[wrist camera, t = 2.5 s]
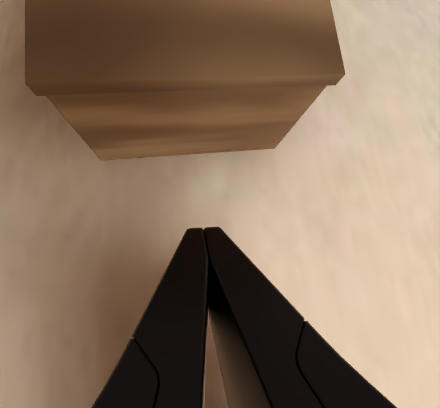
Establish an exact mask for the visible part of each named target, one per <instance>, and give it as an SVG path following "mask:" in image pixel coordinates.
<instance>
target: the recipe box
mask: <svg viewBox="0 0 440 408" xmlns="http://www.w3.org/2000/svg"><path fill="white" fill-rule="evenodd" d="M25 75H26V85H27V86H28V87H29V88H30V89H31V90H32V91H33V92H34V94H35V95H36V96H47V97H48V98H49V100H50V101H51V102H52V103H53V104H54V106H55V107H56V108H57V109H58V110H59V111H60V113H61V114H62V115H63V116H64V117H65V118H66V120H67V121H68V122H69V123H70V124H71V126H72V127H73V128H74V129H75V130H76V131H77V133H78V134H79V135H80V136H81V137H82V139H83V140H84V141H85V142H86V143H87V144H88V146H89V147H90V148H91V149H92V150H93V151H94V153H95V154H96V155H97V156H98V157H99V159H100V160H111V159H125V158H140V157H155V156H170V155H185V154H200V153H215V152H230V151H245V150H260V149H274V148H275V147H276V146H277V145H278V144H279V143H280V141H281V140H282V139H283V138H284V136H285V135H286V134H287V133H288V132H289V130H290V129H291V128H292V127H293V126H294V124H295V123H296V122H297V121H298V120H299V118H300V117H301V116H302V115H303V114H304V112H305V111H306V110H307V109H308V108H309V106H310V105H311V104H312V103H313V102H314V100H315V99H316V98H317V97H318V96H319V94H320V93H321V92H322V91H323V90H324V88H325V87H326V86H327V85H336V84H337V83H338V82H339V81H340V79H341V78H342V77H343V76H344V75H345V70H344V65H343V61H342V56H341V51H340V46H339V41H338V37H337V32H336V27H335V22H334V17H333V13H332V8H331V3H330V0H25Z"/></svg>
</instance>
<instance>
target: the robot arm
mask: <svg viewBox="0 0 440 408" xmlns="http://www.w3.org/2000/svg"><path fill="white" fill-rule="evenodd" d="M208 312H209V318H210V323H211V327H212V332H213V337H214V341H215V346H216V351H217V355H218V360H219V365H220V369H221V374H222V379H223V383H224V388H225V393H226V397H227V402H228V407H229V408H397V407H396V406H395V405H393V404H392V403H391V402H390V401H389V400H388V399H387V398H386V397H385V396H383V395H382V394H381V393H380V392H379V391H378V390H377V389H376V388H375V387H373V386H372V385H371V384H370V383H369V382H368V381H367V380H366V379H365V378H364V377H362V376H361V375H360V374H359V373H358V372H357V371H356V370H355V369H354V368H353V367H352V366H351V365H350V364H349V363H348V362H346V361H345V360H344V359H343V358H342V357H341V356H340V355H339V354H338V353H337V352H336V351H335V350H334V349H333V348H332V347H331V346H330V345H329V344H328V343H327V342H326V341H325V340H324V339H323V337H322V336H321V335H320V334H319V333H318V332H317V331H316V330H315V329H314V328H313V327H312V326H311V325H310V324H309V323H308V321H304V317H303V316H302V315H301V314H300V313H299V312H298V311H297V310H296V309H295V308H294V307H293V306H292V304H291V303H290V302H289V301H288V300H287V299H286V298H285V297H284V296H283V295H282V294H281V293H280V292H279V290H278V289H277V288H276V287H275V286H274V285H273V284H272V283H271V282H270V281H269V280H268V279H267V278H266V276H265V275H264V274H263V273H262V272H261V271H260V270H259V269H258V268H257V267H256V266H255V265H254V264H253V263H252V261H251V260H250V259H249V258H248V257H247V256H246V255H245V254H244V253H243V252H242V251H241V250H240V249H239V247H238V246H237V245H236V244H235V243H234V242H233V241H232V240H231V239H230V238H229V237H228V236H227V235H226V233H225V232H224V231H223V230H222V229H221V228H220V227H206V228H204V230H203V229H202V228H189V229H187V230H186V232H185V234H184V236H183V238H182V240H181V242H180V244H179V246H178V248H177V250H176V252H175V253H174V255H173V257H172V259H171V261H170V263H169V265H168V267H167V269H166V271H165V273H164V275H163V277H162V279H161V281H160V283H159V284H158V286H157V288H156V290H155V292H154V294H153V296H152V298H151V300H150V302H149V304H148V306H147V308H146V310H145V312H144V314H143V316H142V317H141V319H140V321H139V323H138V325H137V327H136V329H135V331H134V333H133V335H132V339H130V340H129V342H128V344H127V346H126V348H125V350H124V352H123V354H122V356H121V358H120V359H119V361H118V363H117V365H116V367H115V369H114V370H113V372H112V374H111V376H110V378H109V379H108V381H107V383H106V385H105V386H104V388H103V390H102V391H101V393H100V394H99V396H98V398H97V399H96V401H95V402H94V404H93V406H92V407H91V408H204V403H205V376H206V350H207V324H208Z"/></svg>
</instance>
